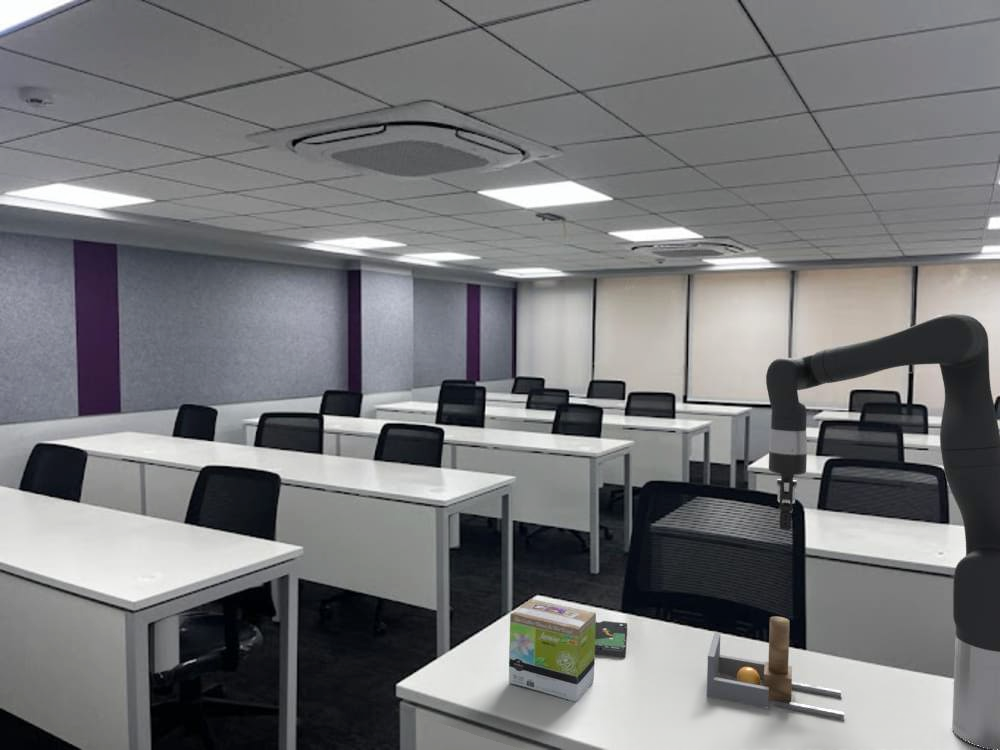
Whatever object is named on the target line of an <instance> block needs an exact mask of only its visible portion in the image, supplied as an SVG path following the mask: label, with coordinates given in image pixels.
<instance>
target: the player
mask: <svg viewBox="0 0 1000 750" xmlns="http://www.w3.org/2000/svg"><path fill="white" fill-rule="evenodd" d="M768 637H769V638H768V661H765V668H764V681H763V686H765V687H769V696H768V700H772V701H774V699H778V700H783V701H788V702H792V690H793V689H792V682H793V666H791V665H789V656H790V655H789V653H790V652H789V651H790V620H789V619H788V618H786V617H784V616H783V617H782V616H771V617H769V636H768Z"/></svg>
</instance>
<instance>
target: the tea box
mask: <svg viewBox="0 0 1000 750" xmlns="http://www.w3.org/2000/svg"><path fill="white" fill-rule="evenodd" d="M509 614H510V617H509V618H510V619H509V648H508V649H509V650H508V651H509V653H508V655H509V656H508V683H509V684H510V685H512V684H513V685H517V686H520V687H524V688H528V689H531V690H535V691H536V692H537V691H538V692H541V693H545V694H548V695H550V696H551V695H552V696H555V697H558V698H561V699H565V700H567V699H568V701H570V700H571V702H573V701H575V702H574V703H577V701H578V700H579V699H580V698H581V697H582V696H583V695H584V693H586V691H587V690H588V688H589V687H590V686H591V685H592V684H593V682H594V680H595V679H594V678H595V661H596V659H595V658H596V655H595V630H596V622H597V619H596V618H597V613H596V612H593V611H588V610H583V609H579V608H574V607H570V606H565V605H560V604H557V603H556V604H555V603H553V602H552V603H551V602H546V601H541V600H537V599H533V598H530V599H528V601H526V602H525V603H524V604H522V605H521V606H520V607H519V608H517V609H516V610H514V611H513V612H512V613H509ZM582 694H583V695H582ZM581 695H582V696H581Z"/></svg>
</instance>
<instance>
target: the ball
mask: <svg viewBox="0 0 1000 750" xmlns="http://www.w3.org/2000/svg"><path fill="white" fill-rule="evenodd" d="M736 681H738V682H744V683H749V684H754V685H760V682H761V681H760V676H759V674H758V673H757V671H756V670H755V669H753V668H751V667H743V668H741V669H740V670H739V671H738V673H737V676H736Z"/></svg>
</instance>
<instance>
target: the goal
mask: <svg viewBox="0 0 1000 750" xmlns="http://www.w3.org/2000/svg"><path fill="white" fill-rule="evenodd" d="M765 662H766V661H765ZM765 662H764V661H759V660H754V659H753V660H752V659H747V658H742V657H736V656H732V655H724V654H721V633H719V632H714V633H713V637H712V639H711V643H710V647H709V651H708V654H707V670H706V672H707V675H706V697H708V698H709V697H711V698H714V699H715V698H716V699H720V700H725V701H731V702H733V703H735V702H736V703H740V704H744V705H745V704H746V705H751V706H756V707H761V708H764V709H765V708H766V709H768V708H769V699H768V696H769V687H765V686H764V685H760V684H759V685H754V684H749V683H744V682H738V681H737V680H732V679H728V678H727V679H726V678H723V677H719V676H720V675H719V674H721V675H727V676H731V677H737V673H738V671H739V670H740V669H741V668H743V667H751V668H753V669H755V670H756V671H757V673H758V674H759V676H760V682H764V668H765Z"/></svg>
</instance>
